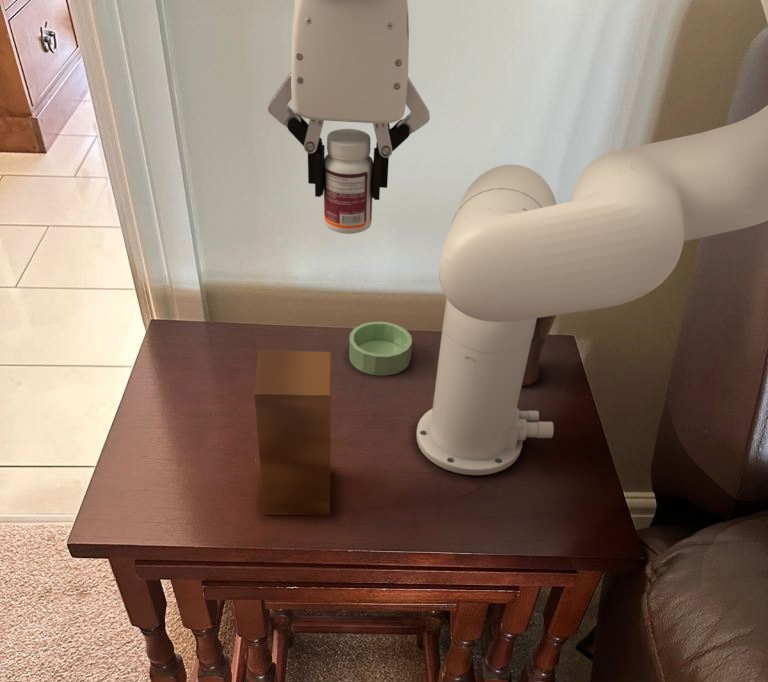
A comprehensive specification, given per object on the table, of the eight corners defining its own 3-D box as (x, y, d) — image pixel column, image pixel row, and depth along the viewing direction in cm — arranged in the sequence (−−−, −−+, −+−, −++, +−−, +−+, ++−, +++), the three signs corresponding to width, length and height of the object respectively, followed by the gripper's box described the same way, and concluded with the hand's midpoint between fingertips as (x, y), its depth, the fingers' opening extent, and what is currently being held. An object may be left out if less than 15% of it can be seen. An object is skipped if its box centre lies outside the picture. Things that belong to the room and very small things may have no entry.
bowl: (408, 341, 107) (409, 322, 105) (412, 376, 102) (414, 357, 99) (348, 339, 107) (349, 320, 105) (349, 375, 101) (349, 355, 99)
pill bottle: (339, 209, 80) (340, 123, 74) (380, 221, 78) (383, 134, 72) (314, 226, 77) (312, 138, 71) (356, 239, 75) (358, 150, 69)
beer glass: (540, 392, 100) (565, 288, 90) (486, 384, 101) (505, 279, 90) (543, 362, 105) (567, 259, 95) (492, 354, 106) (510, 251, 95)
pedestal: (330, 471, 88) (330, 351, 77) (329, 515, 83) (330, 394, 72) (268, 470, 88) (259, 350, 76) (264, 515, 83) (253, 393, 71)
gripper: (454, -37, 65) (434, 181, 78) (251, -50, 65) (264, 172, 78) (459, -16, 60) (436, 214, 73) (238, -30, 59) (255, 204, 72)
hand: (348, 190), depth 75 cm, fingers closed on pill bottle, 4 cm apart
